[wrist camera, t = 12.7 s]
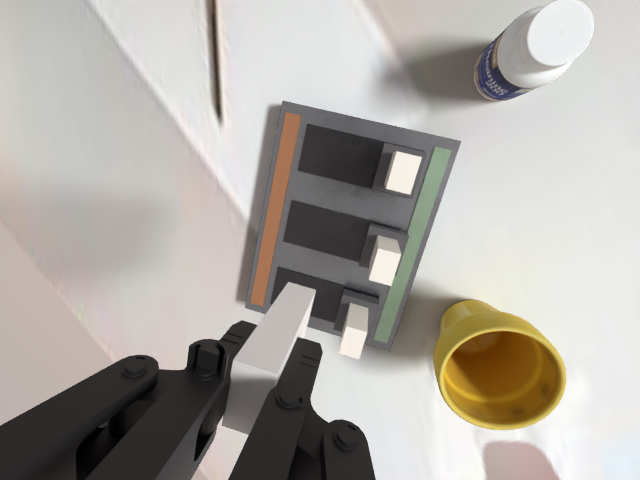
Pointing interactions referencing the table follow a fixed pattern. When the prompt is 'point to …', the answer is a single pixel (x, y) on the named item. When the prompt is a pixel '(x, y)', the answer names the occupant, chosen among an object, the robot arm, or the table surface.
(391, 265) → the breaker mid
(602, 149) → the table surface
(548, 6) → the pill bottle
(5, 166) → the table surface
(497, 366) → the plant pot
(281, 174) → the panel
